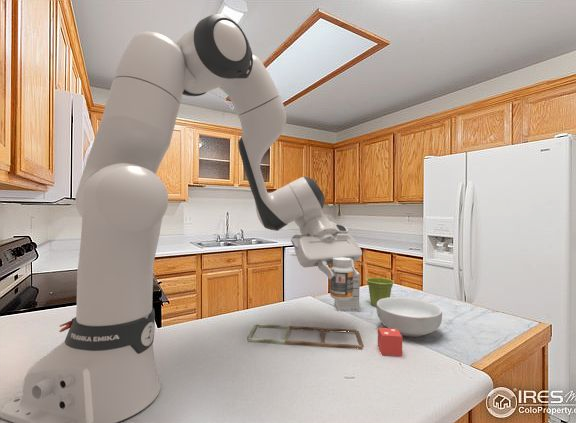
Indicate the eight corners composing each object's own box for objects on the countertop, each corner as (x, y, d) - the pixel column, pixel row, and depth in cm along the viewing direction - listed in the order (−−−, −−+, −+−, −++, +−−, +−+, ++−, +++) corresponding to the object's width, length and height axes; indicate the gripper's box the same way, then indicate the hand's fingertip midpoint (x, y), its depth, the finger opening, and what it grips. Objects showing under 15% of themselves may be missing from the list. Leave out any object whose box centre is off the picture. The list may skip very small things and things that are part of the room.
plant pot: (360, 304, 102) (360, 279, 102) (374, 299, 109) (375, 276, 109) (384, 311, 95) (385, 285, 95) (398, 305, 102) (398, 280, 102)
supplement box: (334, 303, 102) (334, 268, 102) (355, 304, 102) (356, 268, 102) (336, 311, 95) (337, 272, 95) (359, 311, 94) (360, 273, 94)
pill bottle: (353, 301, 70) (353, 260, 70) (329, 299, 72) (330, 259, 72) (352, 295, 76) (353, 257, 76) (330, 293, 77) (331, 256, 77)
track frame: (246, 341, 71) (246, 339, 71) (255, 325, 81) (255, 323, 81) (364, 349, 68) (364, 346, 68) (358, 332, 78) (358, 329, 78)
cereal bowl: (378, 316, 91) (378, 293, 91) (437, 324, 85) (437, 300, 85) (373, 337, 75) (374, 310, 75) (446, 350, 69) (446, 320, 69)
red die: (381, 355, 66) (382, 334, 66) (377, 346, 70) (377, 327, 70) (402, 356, 65) (402, 336, 65) (396, 347, 70) (397, 328, 70)
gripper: (294, 227, 74) (317, 273, 66) (350, 226, 85) (376, 265, 77) (283, 243, 77) (305, 288, 69) (339, 240, 89) (363, 278, 81)
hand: (343, 276), depth 73 cm, fingers closed on pill bottle, 6 cm apart
